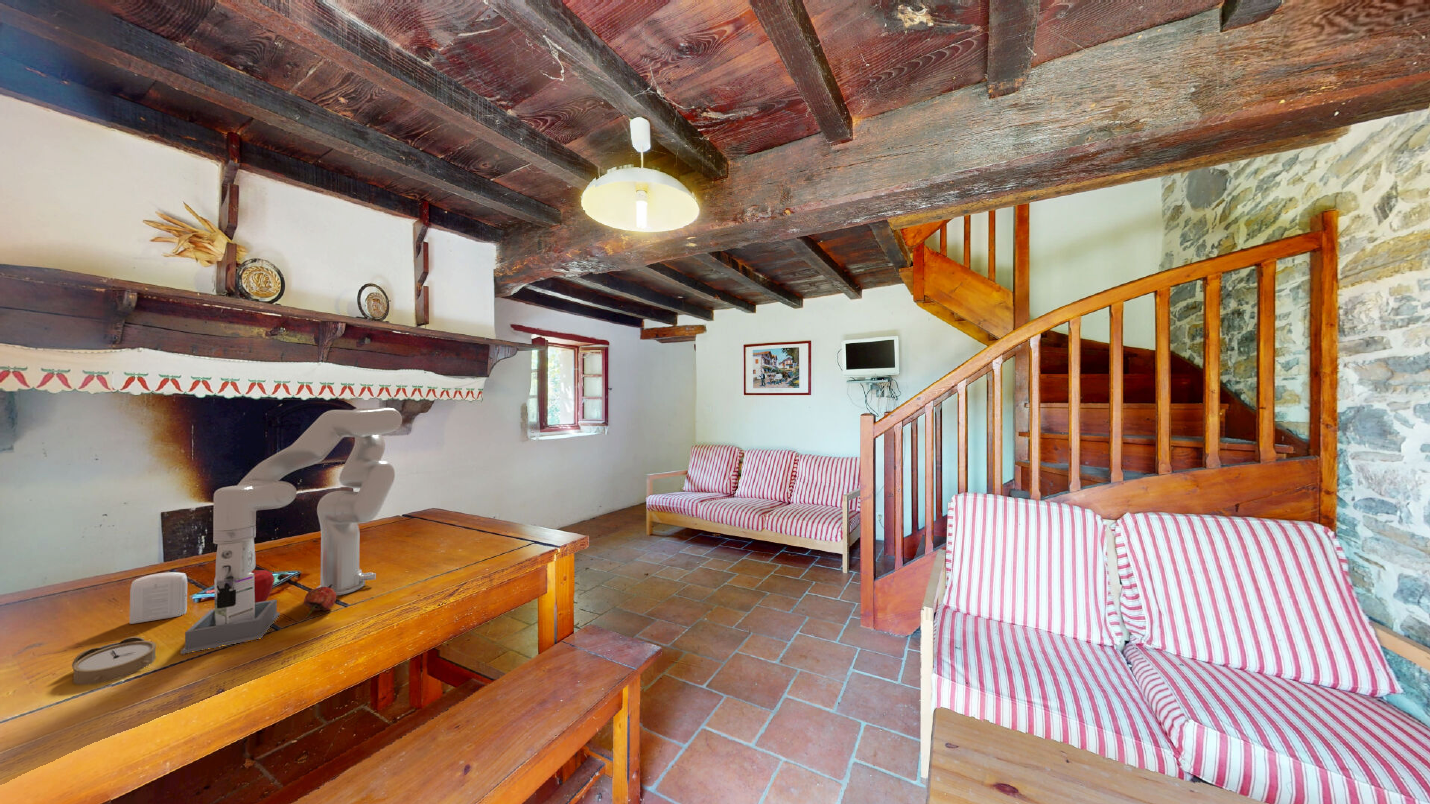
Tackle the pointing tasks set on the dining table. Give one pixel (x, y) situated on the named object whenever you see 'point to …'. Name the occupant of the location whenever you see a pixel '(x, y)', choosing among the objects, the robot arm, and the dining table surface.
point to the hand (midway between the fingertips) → (234, 599)
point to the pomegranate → (320, 599)
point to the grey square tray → (230, 629)
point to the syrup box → (238, 603)
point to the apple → (262, 585)
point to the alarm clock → (113, 661)
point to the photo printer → (158, 597)
